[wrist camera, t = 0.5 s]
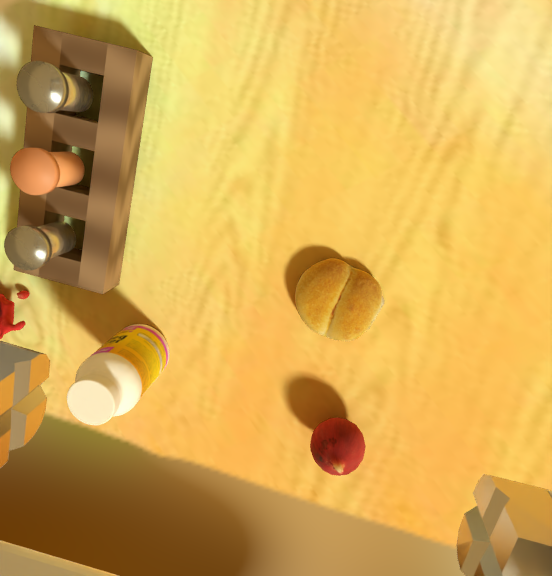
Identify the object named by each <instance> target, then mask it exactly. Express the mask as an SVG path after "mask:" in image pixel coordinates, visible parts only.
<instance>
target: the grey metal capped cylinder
mask: <svg viewBox="0 0 552 576" xmlns="http://www.w3.org/2000/svg"><path fill="white" fill-rule="evenodd" d="M17 90H18V93H19V96H20V98H21V100H22V101H23V103H24V104H25V105H26V106H27V107H28V108H30V109H31V110H33V111H36V112H40V113H55V112H57V111H59V110H64V111H73V112H83V111H86V110H87V109H88V108H89V107H90V106H91V104H92V102H93V97H94V95H93V89H92V87H91V85H90V83H89V82H88V81H87V80H86V79H84V78H83V77H80V76H76V75H72V74H69V73H65V72H62V71H61V70H60V69H59V68H58V67H56V66H55V65H52V64H50V63H46V62H43V61H32V62H29V63H27V64H26V65H24V66H23V67H22V69H21V70H20V72H19V74H18V78H17Z"/></svg>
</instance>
